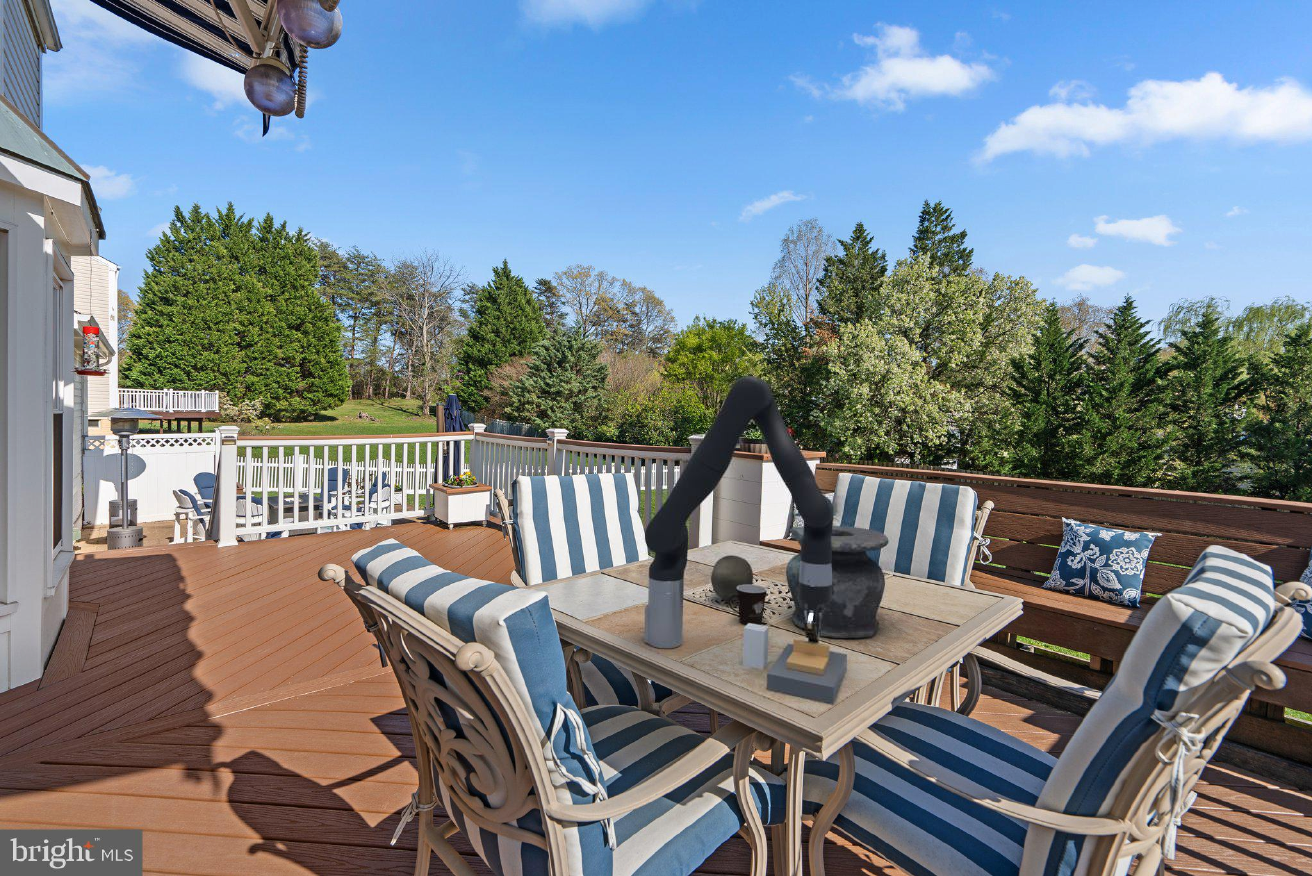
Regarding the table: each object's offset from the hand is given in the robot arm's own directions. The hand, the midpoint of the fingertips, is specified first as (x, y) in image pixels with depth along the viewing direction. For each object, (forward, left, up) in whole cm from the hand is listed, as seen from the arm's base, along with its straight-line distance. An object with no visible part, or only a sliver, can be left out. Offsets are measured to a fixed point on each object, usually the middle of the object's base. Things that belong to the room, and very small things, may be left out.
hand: (813, 653), depth 137 cm
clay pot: (-1, +36, -4) cm, 36 cm away
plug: (-13, -3, -4) cm, 14 cm away
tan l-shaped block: (0, -7, 0) cm, 7 cm away
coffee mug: (-24, +25, -4) cm, 35 cm away
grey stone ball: (-34, +42, -4) cm, 54 cm away
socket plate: (0, -5, -4) cm, 7 cm away
